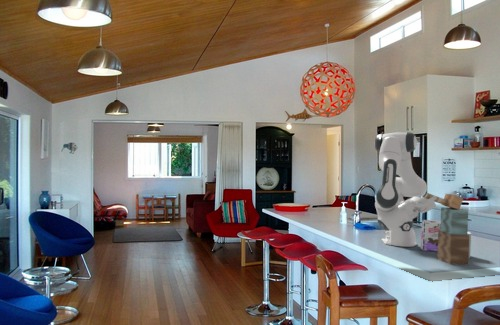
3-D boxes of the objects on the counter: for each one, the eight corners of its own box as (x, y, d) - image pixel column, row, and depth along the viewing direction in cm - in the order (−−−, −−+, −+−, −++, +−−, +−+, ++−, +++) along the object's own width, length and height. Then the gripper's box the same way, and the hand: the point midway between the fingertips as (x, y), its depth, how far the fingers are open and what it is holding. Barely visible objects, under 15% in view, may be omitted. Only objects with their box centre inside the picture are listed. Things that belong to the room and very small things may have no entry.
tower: (437, 258, 244) (439, 207, 243) (454, 258, 245) (456, 207, 244) (450, 264, 231) (452, 210, 231) (468, 264, 232) (470, 210, 231)
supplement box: (470, 258, 246) (471, 233, 246) (454, 256, 249) (455, 232, 249) (469, 255, 253) (470, 231, 253) (454, 254, 256) (455, 230, 256)
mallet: (422, 197, 240) (426, 186, 240) (450, 207, 241) (454, 196, 242) (429, 199, 232) (433, 187, 232) (459, 209, 234) (463, 198, 234)
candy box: (422, 251, 262) (423, 220, 262) (420, 248, 268) (421, 219, 268) (449, 252, 260) (450, 222, 260) (446, 250, 266) (447, 220, 266)
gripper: (416, 206, 224) (441, 192, 226) (398, 202, 245) (421, 189, 246) (422, 218, 225) (447, 204, 226) (403, 213, 245) (426, 200, 246)
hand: (433, 196), depth 236 cm, fingers closed on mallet, 3 cm apart
